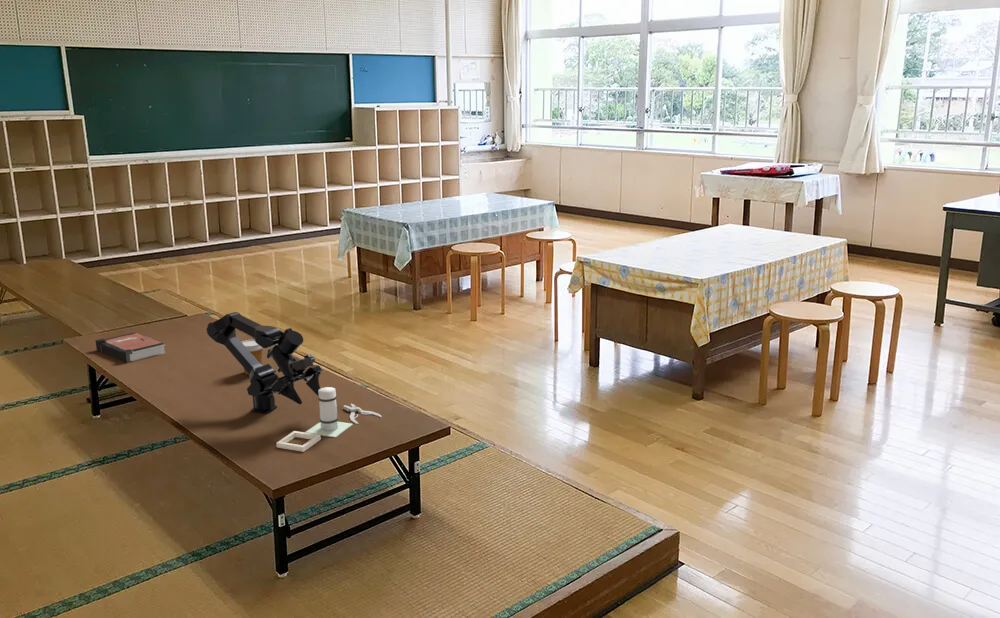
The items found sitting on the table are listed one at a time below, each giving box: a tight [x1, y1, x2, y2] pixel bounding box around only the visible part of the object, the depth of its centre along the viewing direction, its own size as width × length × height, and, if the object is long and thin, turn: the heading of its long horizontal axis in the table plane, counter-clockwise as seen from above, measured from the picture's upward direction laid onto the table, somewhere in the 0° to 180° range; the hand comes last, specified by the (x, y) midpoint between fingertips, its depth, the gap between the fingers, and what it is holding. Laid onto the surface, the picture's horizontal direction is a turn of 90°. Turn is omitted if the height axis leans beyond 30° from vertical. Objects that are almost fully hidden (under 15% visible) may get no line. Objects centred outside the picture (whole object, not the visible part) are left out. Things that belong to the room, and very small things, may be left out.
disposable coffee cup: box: [241, 339, 264, 376], centre depth 313 cm, size 10×10×12 cm
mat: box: [305, 421, 354, 439], centre depth 262 cm, size 11×11×1 cm
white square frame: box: [276, 430, 322, 453], centre depth 251 cm, size 10×10×2 cm
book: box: [95, 332, 167, 364], centre depth 340 cm, size 26×18×5 cm
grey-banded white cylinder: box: [317, 386, 339, 431], centre depth 260 cm, size 6×6×13 cm
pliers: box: [343, 403, 383, 425], centre depth 274 cm, size 10×2×15 cm
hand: (311, 399), depth 264 cm, fingers open, 9 cm apart
